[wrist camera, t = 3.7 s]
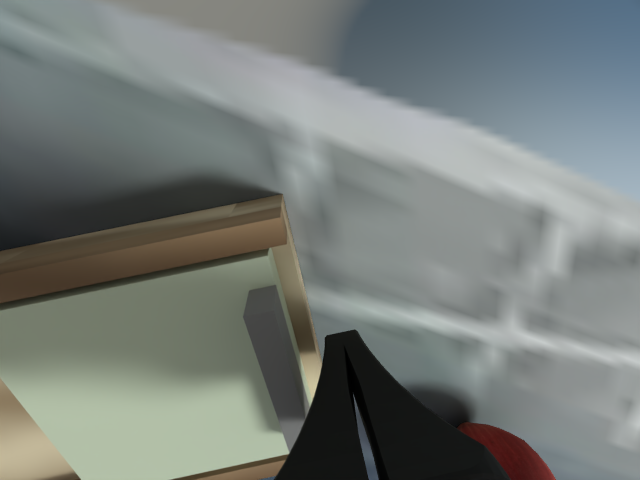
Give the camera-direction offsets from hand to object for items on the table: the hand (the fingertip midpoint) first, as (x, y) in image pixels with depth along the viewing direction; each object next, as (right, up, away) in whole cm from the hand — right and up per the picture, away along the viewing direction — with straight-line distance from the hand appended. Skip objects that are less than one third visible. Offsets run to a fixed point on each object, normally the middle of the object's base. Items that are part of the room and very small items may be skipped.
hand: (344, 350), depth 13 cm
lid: (-7, -1, +1) cm, 7 cm away
